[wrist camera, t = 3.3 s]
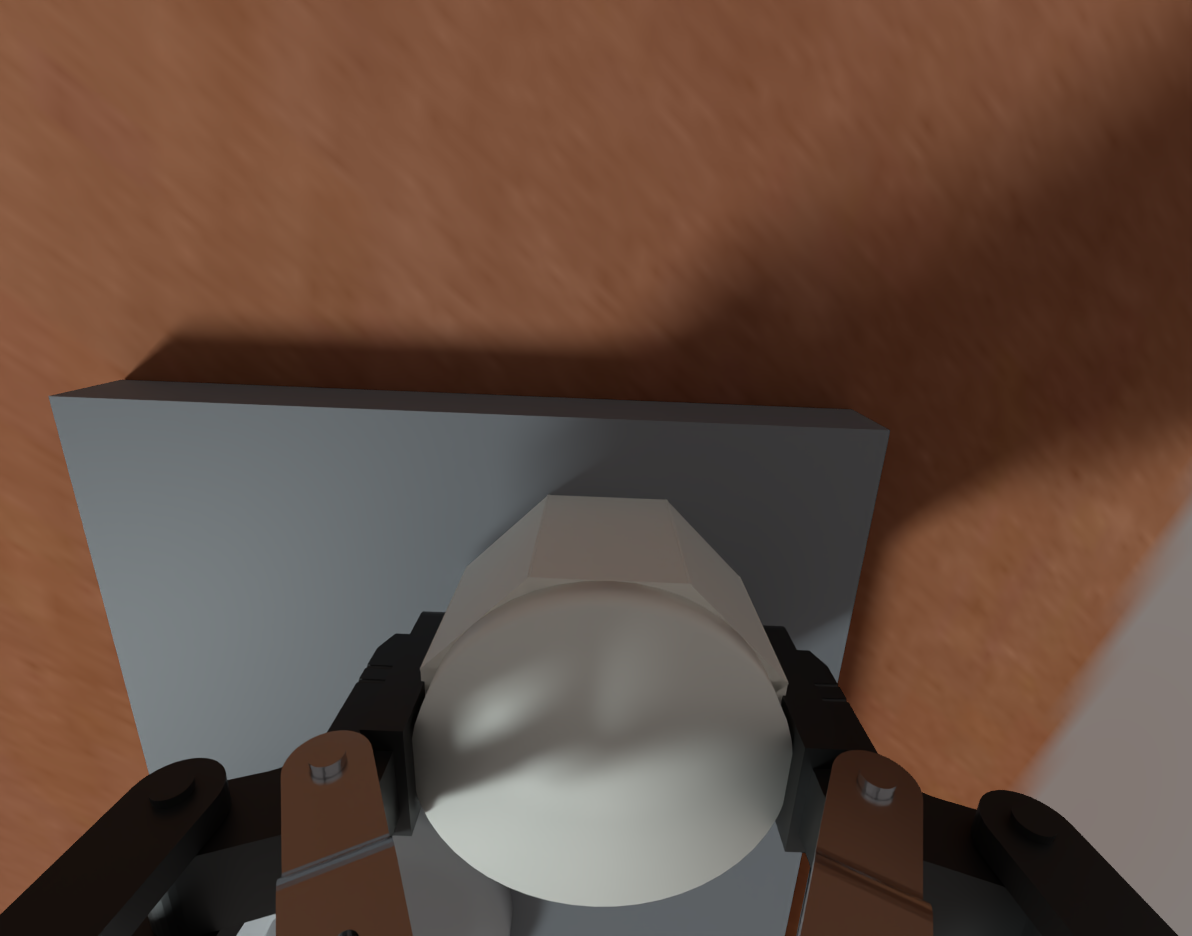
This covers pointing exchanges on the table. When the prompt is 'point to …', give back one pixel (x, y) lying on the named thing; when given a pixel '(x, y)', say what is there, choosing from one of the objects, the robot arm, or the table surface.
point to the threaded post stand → (429, 570)
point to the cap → (601, 708)
